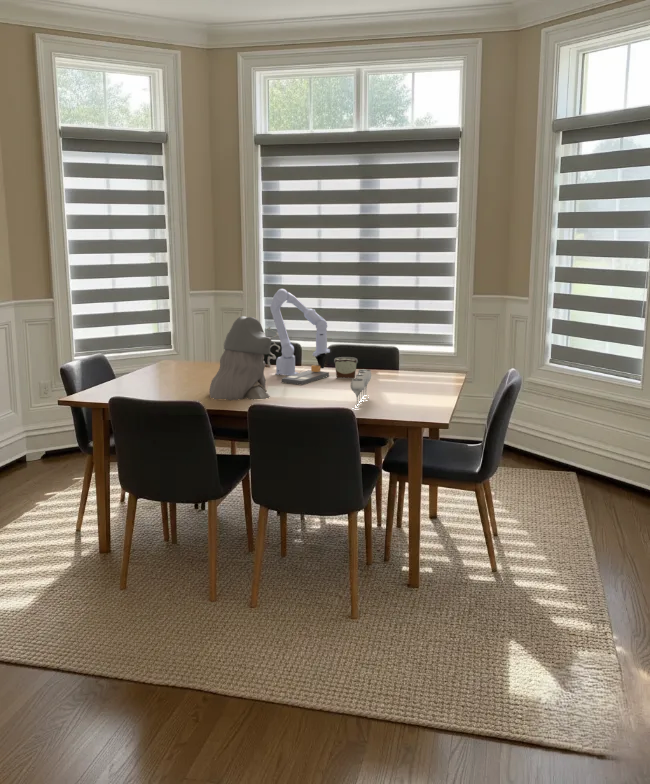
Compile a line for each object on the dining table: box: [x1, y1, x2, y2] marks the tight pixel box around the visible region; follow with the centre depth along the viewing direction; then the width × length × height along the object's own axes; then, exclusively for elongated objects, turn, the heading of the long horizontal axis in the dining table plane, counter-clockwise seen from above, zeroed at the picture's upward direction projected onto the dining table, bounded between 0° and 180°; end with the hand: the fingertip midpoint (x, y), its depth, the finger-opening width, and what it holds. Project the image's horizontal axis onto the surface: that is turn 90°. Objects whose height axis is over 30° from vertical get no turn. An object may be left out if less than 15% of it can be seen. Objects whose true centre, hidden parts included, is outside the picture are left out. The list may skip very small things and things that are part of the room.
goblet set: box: [350, 368, 372, 410], centre depth 317 cm, size 28×6×13 cm, turn 168°
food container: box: [333, 356, 359, 379], centre depth 374 cm, size 12×6×10 cm, turn 84°
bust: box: [209, 315, 281, 401], centre depth 334 cm, size 34×34×35 cm
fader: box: [310, 364, 321, 372], centre depth 377 cm, size 4×2×3 cm, turn 60°
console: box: [281, 369, 330, 386], centre depth 369 cm, size 12×26×2 cm, turn 150°
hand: (321, 368), depth 382 cm, fingers closed
